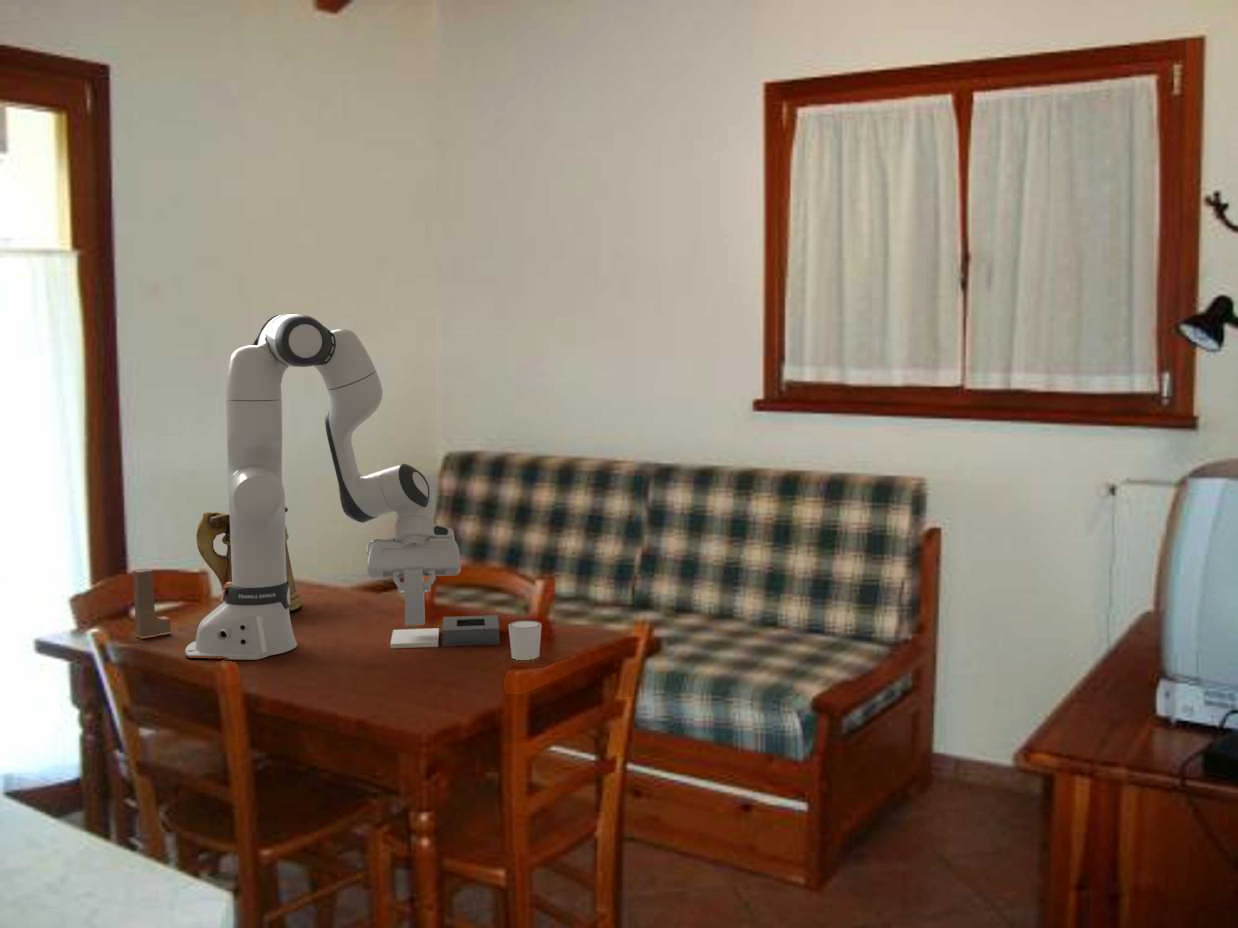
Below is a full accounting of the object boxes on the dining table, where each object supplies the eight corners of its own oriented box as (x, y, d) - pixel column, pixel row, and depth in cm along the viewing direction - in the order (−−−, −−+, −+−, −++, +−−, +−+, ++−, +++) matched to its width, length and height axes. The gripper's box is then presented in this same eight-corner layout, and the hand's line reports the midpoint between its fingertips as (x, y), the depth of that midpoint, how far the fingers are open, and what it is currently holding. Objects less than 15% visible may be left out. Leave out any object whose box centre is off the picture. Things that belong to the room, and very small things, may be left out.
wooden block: (141, 639, 269) (137, 572, 267) (135, 637, 271) (132, 570, 269) (171, 634, 273) (167, 568, 271) (165, 631, 275) (162, 566, 274)
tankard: (311, 612, 293) (307, 509, 290) (210, 625, 281) (205, 517, 278) (288, 598, 308) (284, 499, 305) (191, 610, 296) (186, 507, 293)
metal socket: (442, 646, 262) (442, 630, 261) (443, 632, 274) (443, 616, 273) (499, 644, 263) (499, 628, 263) (497, 630, 275) (497, 615, 275)
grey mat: (390, 648, 260) (390, 643, 260) (393, 634, 272) (393, 629, 272) (438, 646, 262) (438, 641, 262) (439, 632, 273) (439, 628, 273)
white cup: (548, 655, 254) (548, 622, 253) (528, 663, 248) (528, 629, 248) (522, 651, 258) (521, 618, 257) (501, 658, 252) (501, 625, 251)
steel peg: (405, 625, 264) (403, 570, 263) (406, 621, 268) (404, 567, 267) (424, 624, 265) (422, 570, 263) (424, 620, 269) (423, 566, 267)
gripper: (365, 531, 270) (363, 584, 261) (460, 528, 272) (460, 581, 264) (368, 547, 275) (366, 600, 266) (460, 545, 277) (461, 597, 269)
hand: (414, 591), depth 265 cm, fingers closed on steel peg, 4 cm apart
